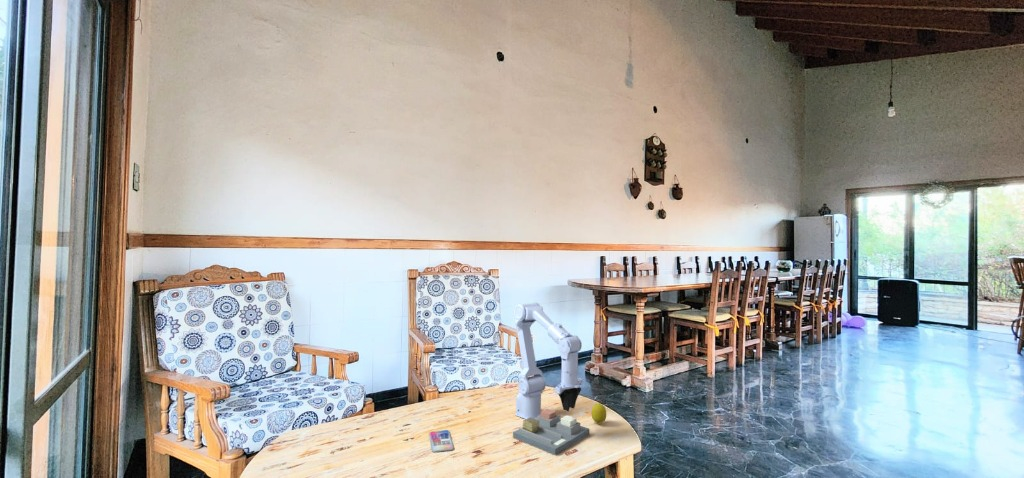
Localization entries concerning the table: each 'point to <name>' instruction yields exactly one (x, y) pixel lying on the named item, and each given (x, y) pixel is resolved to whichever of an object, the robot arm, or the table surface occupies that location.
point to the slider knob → (531, 425)
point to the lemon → (599, 413)
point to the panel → (552, 435)
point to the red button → (548, 414)
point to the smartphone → (440, 441)
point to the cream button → (568, 421)
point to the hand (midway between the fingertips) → (568, 408)
